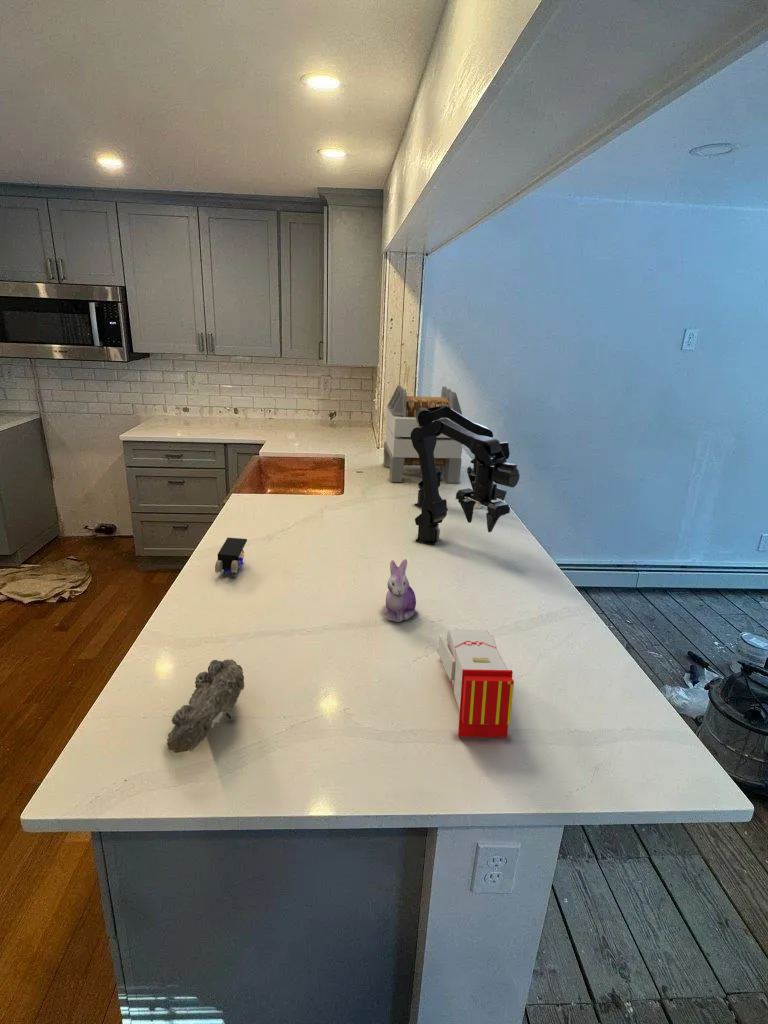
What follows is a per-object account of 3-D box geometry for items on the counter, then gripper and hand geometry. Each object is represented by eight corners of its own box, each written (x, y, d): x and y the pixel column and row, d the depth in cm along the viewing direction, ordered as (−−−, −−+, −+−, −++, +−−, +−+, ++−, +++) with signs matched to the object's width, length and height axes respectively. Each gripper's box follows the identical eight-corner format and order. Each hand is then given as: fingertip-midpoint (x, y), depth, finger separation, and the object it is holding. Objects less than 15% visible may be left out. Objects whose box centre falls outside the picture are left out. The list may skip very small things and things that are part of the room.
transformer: (382, 463, 289) (386, 382, 275) (445, 464, 293) (451, 384, 279) (390, 482, 257) (394, 392, 243) (460, 483, 261) (468, 394, 247)
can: (478, 504, 234) (479, 495, 232) (483, 508, 230) (484, 498, 229) (469, 505, 232) (470, 496, 231) (474, 508, 229) (475, 499, 228)
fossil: (192, 660, 117) (244, 628, 112) (224, 691, 120) (276, 661, 115) (142, 746, 98) (202, 712, 93) (182, 779, 101) (242, 748, 96)
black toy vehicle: (238, 584, 162) (249, 557, 175) (236, 562, 158) (247, 536, 172) (215, 584, 161) (227, 556, 175) (212, 561, 158) (225, 535, 171)
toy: (488, 613, 130) (523, 677, 101) (484, 667, 133) (517, 744, 104) (435, 612, 130) (455, 676, 101) (432, 666, 133) (451, 743, 103)
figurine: (392, 627, 141) (395, 572, 136) (374, 608, 149) (376, 556, 144) (425, 619, 145) (429, 566, 140) (405, 601, 154) (408, 550, 149)
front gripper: (525, 484, 170) (519, 532, 176) (482, 469, 185) (478, 514, 190) (499, 489, 164) (493, 539, 170) (456, 473, 179) (452, 519, 184)
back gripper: (508, 465, 217) (503, 503, 222) (494, 453, 234) (490, 489, 239) (480, 464, 215) (476, 503, 221) (468, 452, 233) (464, 489, 238)
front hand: (479, 527), depth 178 cm, fingers open, 9 cm apart
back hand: (477, 496), depth 230 cm, fingers open, 9 cm apart
